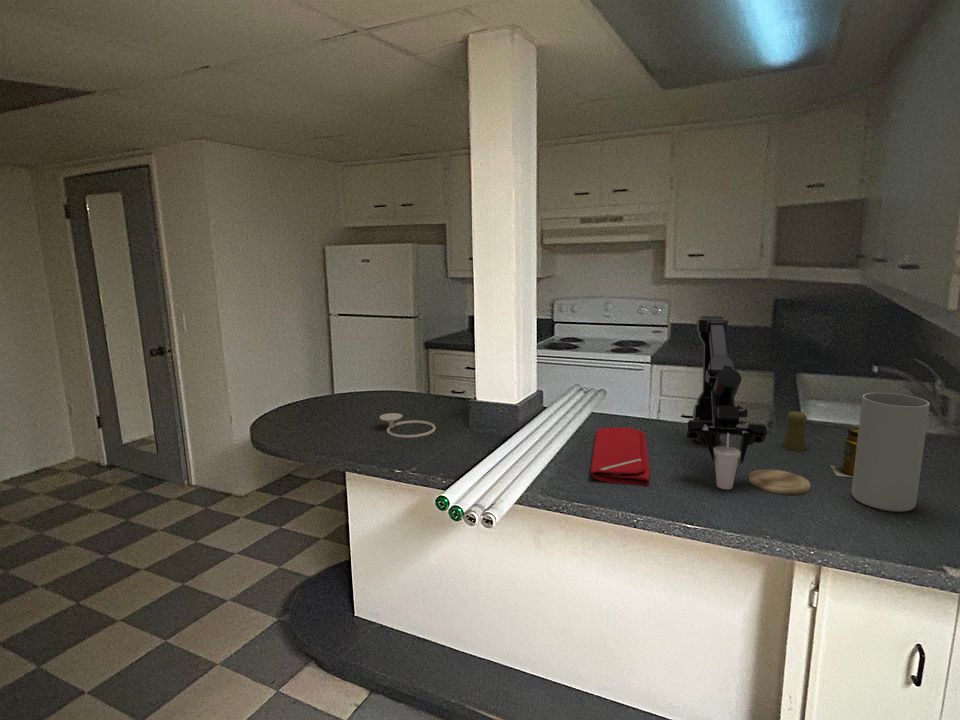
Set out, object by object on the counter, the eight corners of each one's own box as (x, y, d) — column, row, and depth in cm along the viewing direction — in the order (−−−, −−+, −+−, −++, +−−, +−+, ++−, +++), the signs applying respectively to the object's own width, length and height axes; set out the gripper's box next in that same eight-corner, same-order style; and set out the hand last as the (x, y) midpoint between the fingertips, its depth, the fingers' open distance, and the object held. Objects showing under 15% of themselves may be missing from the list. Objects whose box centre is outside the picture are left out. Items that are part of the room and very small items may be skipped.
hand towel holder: (420, 428, 183) (367, 422, 191) (421, 441, 184) (367, 434, 192) (443, 414, 199) (393, 408, 206) (444, 426, 199) (394, 420, 207)
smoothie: (740, 484, 145) (743, 432, 142) (736, 493, 140) (739, 439, 137) (713, 479, 148) (716, 428, 145) (708, 488, 143) (711, 435, 140)
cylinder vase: (839, 495, 138) (850, 396, 133) (872, 486, 142) (884, 390, 138) (893, 517, 126) (907, 409, 121) (927, 506, 131) (942, 402, 126)
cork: (782, 449, 170) (785, 413, 168) (782, 442, 175) (785, 408, 173) (805, 452, 167) (809, 416, 165) (805, 445, 172) (808, 410, 170)
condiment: (874, 479, 147) (879, 435, 144) (837, 476, 149) (841, 433, 147) (865, 469, 153) (869, 427, 151) (829, 466, 156) (833, 424, 154)
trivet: (737, 481, 147) (738, 477, 147) (766, 468, 155) (766, 465, 155) (792, 499, 136) (792, 495, 136) (820, 485, 144) (820, 481, 143)
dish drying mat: (645, 437, 184) (646, 426, 184) (651, 487, 145) (651, 474, 145) (596, 434, 188) (596, 423, 188) (589, 483, 149) (589, 469, 149)
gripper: (689, 390, 145) (691, 445, 137) (768, 393, 140) (775, 450, 132) (685, 410, 154) (686, 463, 146) (759, 414, 149) (765, 469, 141)
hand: (727, 461), depth 141 cm, fingers closed on smoothie, 6 cm apart
